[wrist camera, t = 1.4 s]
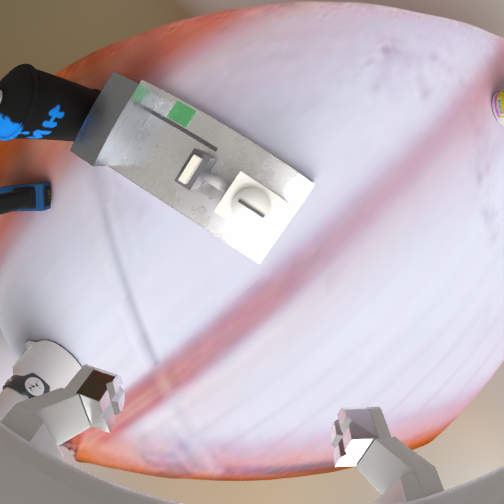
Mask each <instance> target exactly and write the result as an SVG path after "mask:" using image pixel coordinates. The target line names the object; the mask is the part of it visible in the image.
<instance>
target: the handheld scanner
mask: <svg viewBox="0 0 504 504" xmlns="http://www.w3.org/2000/svg"><path fill="white" fill-rule="evenodd" d="M50 203H51V198H50V183H48V182H47V183H34V184H22V185H12V186H5V187H0V214H4V213H8V212H11V211H43V210H47V209H50Z"/></svg>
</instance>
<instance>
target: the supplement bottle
mask: <svg viewBox="0 0 504 504" xmlns="http://www.w3.org/2000/svg"><path fill="white" fill-rule="evenodd" d="M492 108H493V112H494V115H495V117H496V119H497V121H498V122H499V124H500V125H501V126H502V127H504V91H502V92H498V93H496V94H495V95H494V96H493V100H492Z"/></svg>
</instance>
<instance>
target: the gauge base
mask: <svg viewBox="0 0 504 504" xmlns="http://www.w3.org/2000/svg"><path fill="white" fill-rule="evenodd" d="M194 148H196V149H199V150H203V151H205V152H206V153H208V154H209V155H211V156H213V157H214V158H216V159H217V161H216V162H215V164H214V165H213V167H212V168H211V170H210V171H211V172H212V173H214V174H216V175H217V176H219V177H220V178H222V179H223V180H225V181H227V182H228V183H230V184H232V183H233V181H234V180H235V178H236V177H237V175H238V174H239V172H240V171H244V172H246V173H247V174H249V175H250V176H252V177H253V178H255V179H257V180H258V181H260V182H261V183H263V184H264V185H266V186H267V187H269V188H270V189H272V190H273V191H275V192H276V193H277V194H279V195H280V196H282V197H283V198H285V199H286V200H287V201H288V202H289V203H290V204H289V206H288V207H287V209H286V210H285V211H284V213H283V214H282V216H281V217H280V219H279V220H278V221H277V223H276V224H275V226H274V227H273V229H272V230H271V231H270V233H269V234H268V236H267V237H266V239H265V240H264V242H263V243H261V242H259V241H258V240H256V239H255V238H253V237H252V236H250V235H249V234H247V233H246V232H244V231H243V230H241V229H240V228H238V227H236V226H235V225H233V224H232V223H230V222H229V221H227V220H226V219H224V218H223V217H221V216H220V215H218V214H216V213H215V212H214V210H215V209H216V207H217V206H218V204H219V203H220V201H221V200H222V198H223V196H224V195H225V193H223V192H222V191H220V190H219V189H217V188H216V187H214V186H213V185H211V184H209V183H208V182H206V181H205V180H204V181H203V183H202V184H201V186H200V187H199V188H196V189H193V190H190V191H189V190H188V189H186V188H185V187H183V186H182V185H180V184H178V183H177V182H175V181H174V180H175V178H176V177H177V175H178V173H179V172H180V170H181V168H182V167H183V165H184V163H185V162H186V160H187V159H188V157H189V155H190V154H191V152H192V151H193V149H194ZM70 151H71V152H73V153H74V154H76V155H77V156H79V157H80V158H82V159H83V160H85V161H86V162H88V163H89V164H91V165H92V166H109V167H110V168H112V169H113V170H115V171H117V172H118V173H120V174H121V175H123V176H124V177H126V178H127V179H129V180H130V181H132V182H133V183H135V184H136V185H138V186H140V187H141V188H143V189H144V190H146V191H147V192H149V193H150V194H152V195H153V196H155V197H156V198H158V199H159V200H161V201H163V202H164V203H166V204H167V205H169V206H170V207H172V208H173V209H175V210H176V211H178V212H180V213H181V214H183V215H184V216H186V217H187V218H189V219H190V220H192V221H193V222H195V223H197V224H198V225H200V226H201V227H203V228H204V229H206V230H207V231H209V232H210V233H212V234H214V235H215V236H217V237H218V238H220V239H221V240H223V241H224V242H226V243H228V244H229V245H231V246H232V247H234V248H235V249H237V250H238V251H240V252H242V253H243V254H245V255H246V256H248V257H249V258H251V259H252V260H254V261H256V262H257V263H259V264H260V262H261V261H262V260H263V258H264V257H265V255H266V254H267V253H268V251H269V250H270V248H271V247H272V246H273V244H274V243H275V241H276V240H277V238H278V237H279V236H280V234H281V233H282V231H283V230H284V229H285V227H286V226H287V224H288V223H289V221H290V220H291V219H292V217H293V216H294V214H295V213H296V211H297V210H298V209H299V207H300V206H301V204H302V203H303V201H304V200H305V199H306V197H307V196H308V194H309V193H310V191H311V190H312V189H313V187H314V186H315V184H314V183H312V182H311V181H310V180H308V179H307V178H305V177H304V176H303V175H301V174H300V173H298V172H297V171H295V170H294V169H293V168H291V167H290V166H288V165H287V164H285V163H284V162H282V161H281V160H279V159H278V158H276V157H275V156H273V155H272V154H270V153H269V152H267V151H266V150H264V149H263V148H261V147H260V146H258V145H257V144H255V143H253V142H252V141H250V140H249V139H247V138H245V137H244V136H242V135H241V134H239V133H237V132H236V131H234V130H233V129H231V128H229V127H228V126H226V125H224V124H223V123H221V122H219V121H218V120H216V119H214V118H212V117H211V116H209V115H207V114H206V113H204V112H202V111H200V110H198V109H197V108H195V107H193V106H191V105H190V104H188V103H186V102H184V101H182V100H180V99H179V98H177V97H175V96H173V95H171V94H169V93H167V92H165V91H163V90H161V89H160V88H158V87H156V86H154V85H152V84H150V83H148V82H146V81H144V80H141V82H140V83H136V82H134V81H132V80H130V79H128V78H126V77H124V76H122V75H120V74H118V73H116V72H113V73H112V75H111V76H110V78H109V79H108V81H107V83H106V84H105V86H104V87H103V89H102V91H101V92H100V94H99V96H98V98H97V99H96V101H95V103H94V105H93V106H92V108H91V110H90V112H89V114H88V115H87V117H86V119H85V121H84V123H83V125H82V127H81V129H80V131H79V133H78V135H77V137H76V139H75V141H74V143H73V145H72V148H71V150H70Z"/></svg>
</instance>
